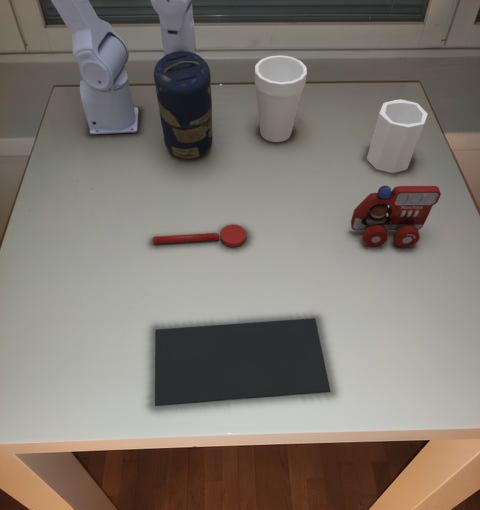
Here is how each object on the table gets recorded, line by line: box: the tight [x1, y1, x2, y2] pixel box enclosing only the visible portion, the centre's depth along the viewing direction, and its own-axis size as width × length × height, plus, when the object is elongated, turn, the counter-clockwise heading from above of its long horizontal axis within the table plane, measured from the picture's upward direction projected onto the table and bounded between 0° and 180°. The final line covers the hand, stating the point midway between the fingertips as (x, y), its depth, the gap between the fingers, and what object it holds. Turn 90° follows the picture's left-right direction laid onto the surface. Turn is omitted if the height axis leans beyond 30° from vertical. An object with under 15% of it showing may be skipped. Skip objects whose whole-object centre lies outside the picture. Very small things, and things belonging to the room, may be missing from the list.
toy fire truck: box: [350, 185, 442, 249], centre depth 77 cm, size 7×12×10 cm, turn 88°
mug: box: [366, 98, 429, 174], centre depth 89 cm, size 12×9×10 cm
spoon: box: [151, 224, 247, 248], centre depth 80 cm, size 16×4×1 cm, turn 95°
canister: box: [153, 51, 214, 160], centre depth 85 cm, size 10×10×18 cm
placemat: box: [154, 317, 331, 407], centre depth 68 cm, size 24×12×1 cm, turn 95°
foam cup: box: [254, 54, 308, 143], centre depth 91 cm, size 10×9×13 cm
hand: (187, 119), depth 94 cm, fingers closed, pressing on canister
